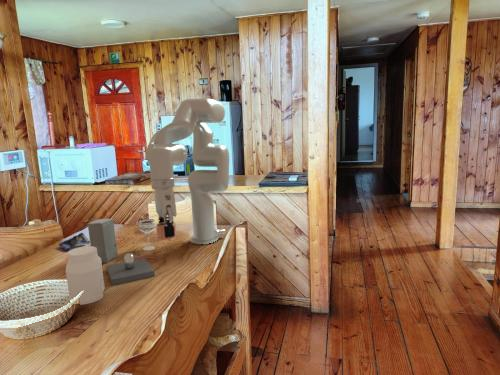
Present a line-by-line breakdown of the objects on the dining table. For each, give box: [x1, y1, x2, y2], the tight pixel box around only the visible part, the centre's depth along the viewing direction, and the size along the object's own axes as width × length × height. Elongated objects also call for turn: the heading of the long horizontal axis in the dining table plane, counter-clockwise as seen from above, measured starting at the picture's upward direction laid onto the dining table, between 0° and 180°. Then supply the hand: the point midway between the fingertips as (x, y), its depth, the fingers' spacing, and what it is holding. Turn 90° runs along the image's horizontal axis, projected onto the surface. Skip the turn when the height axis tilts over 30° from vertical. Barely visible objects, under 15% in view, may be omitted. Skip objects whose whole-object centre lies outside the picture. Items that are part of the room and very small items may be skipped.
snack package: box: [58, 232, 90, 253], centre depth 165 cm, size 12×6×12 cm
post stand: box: [106, 252, 155, 286], centre depth 135 cm, size 14×14×7 cm
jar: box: [65, 245, 105, 306], centre depth 118 cm, size 12×10×15 cm
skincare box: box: [87, 218, 118, 264], centre depth 149 cm, size 8×7×16 cm
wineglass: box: [138, 218, 156, 251], centre depth 160 cm, size 7×7×12 cm
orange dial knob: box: [155, 221, 178, 241], centre depth 131 cm, size 6×6×5 cm
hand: (166, 233), depth 131 cm, fingers closed on orange dial knob, 6 cm apart
